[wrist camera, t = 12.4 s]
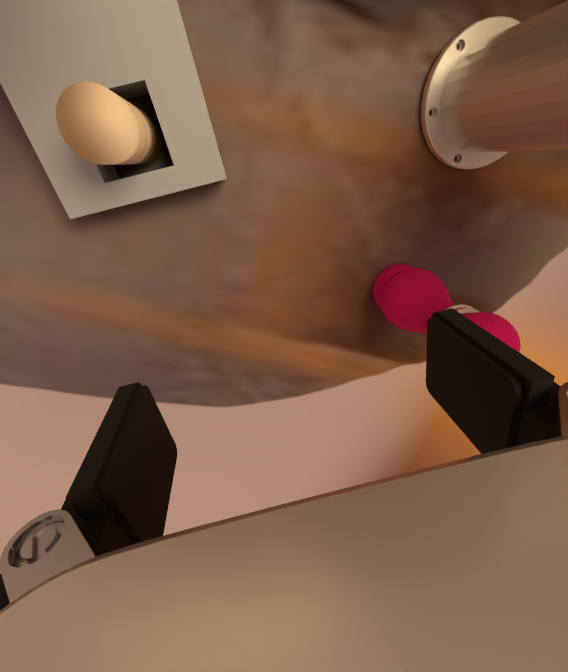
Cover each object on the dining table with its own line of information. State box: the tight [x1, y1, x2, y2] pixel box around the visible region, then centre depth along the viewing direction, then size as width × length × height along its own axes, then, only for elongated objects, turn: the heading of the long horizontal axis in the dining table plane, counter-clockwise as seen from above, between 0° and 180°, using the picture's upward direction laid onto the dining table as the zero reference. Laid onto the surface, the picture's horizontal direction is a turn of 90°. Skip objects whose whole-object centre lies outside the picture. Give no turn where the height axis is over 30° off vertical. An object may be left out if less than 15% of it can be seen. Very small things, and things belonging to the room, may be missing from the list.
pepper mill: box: [373, 263, 520, 352], centre depth 34 cm, size 7×7×20 cm
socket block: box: [0, 0, 227, 219], centre depth 28 cm, size 14×16×5 cm
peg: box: [56, 81, 163, 165], centre depth 26 cm, size 4×4×12 cm
